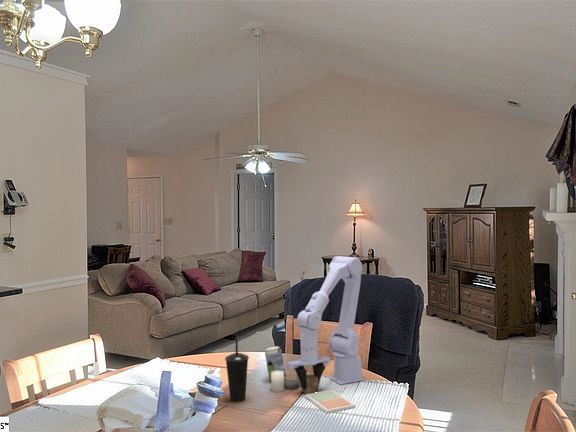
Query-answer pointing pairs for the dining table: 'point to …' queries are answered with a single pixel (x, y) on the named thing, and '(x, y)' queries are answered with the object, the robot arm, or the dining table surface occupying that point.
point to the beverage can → (274, 360)
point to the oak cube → (299, 380)
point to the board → (329, 401)
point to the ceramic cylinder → (277, 381)
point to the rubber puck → (291, 384)
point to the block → (311, 384)
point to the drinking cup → (237, 374)
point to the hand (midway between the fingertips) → (310, 387)
